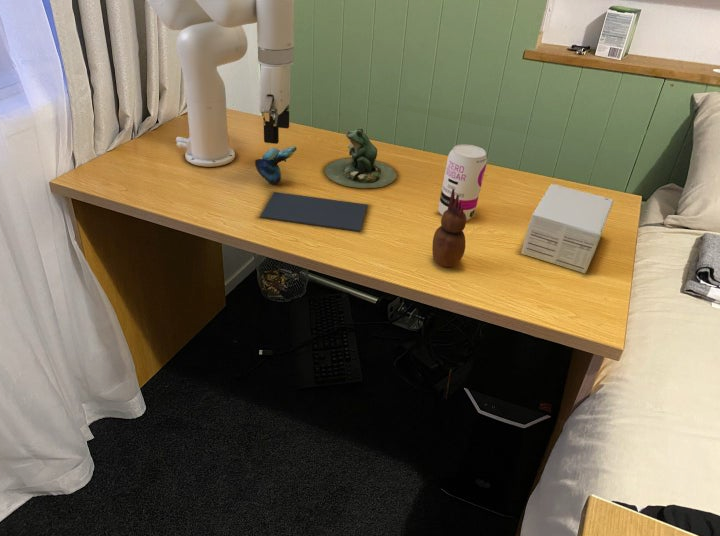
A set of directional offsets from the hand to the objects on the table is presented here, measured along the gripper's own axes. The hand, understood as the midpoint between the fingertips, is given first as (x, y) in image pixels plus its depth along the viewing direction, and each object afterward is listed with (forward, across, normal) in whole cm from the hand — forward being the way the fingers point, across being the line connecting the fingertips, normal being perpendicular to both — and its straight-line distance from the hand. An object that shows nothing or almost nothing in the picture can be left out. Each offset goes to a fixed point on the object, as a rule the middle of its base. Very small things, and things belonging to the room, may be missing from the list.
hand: (277, 134), depth 129 cm
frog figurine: (+13, -12, +18) cm, 25 cm away
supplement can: (+13, +3, +42) cm, 44 cm away
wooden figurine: (+13, +24, +40) cm, 49 cm away
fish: (+12, 0, -1) cm, 12 cm away
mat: (+13, +11, +11) cm, 20 cm away
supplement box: (+14, +11, +64) cm, 67 cm away
